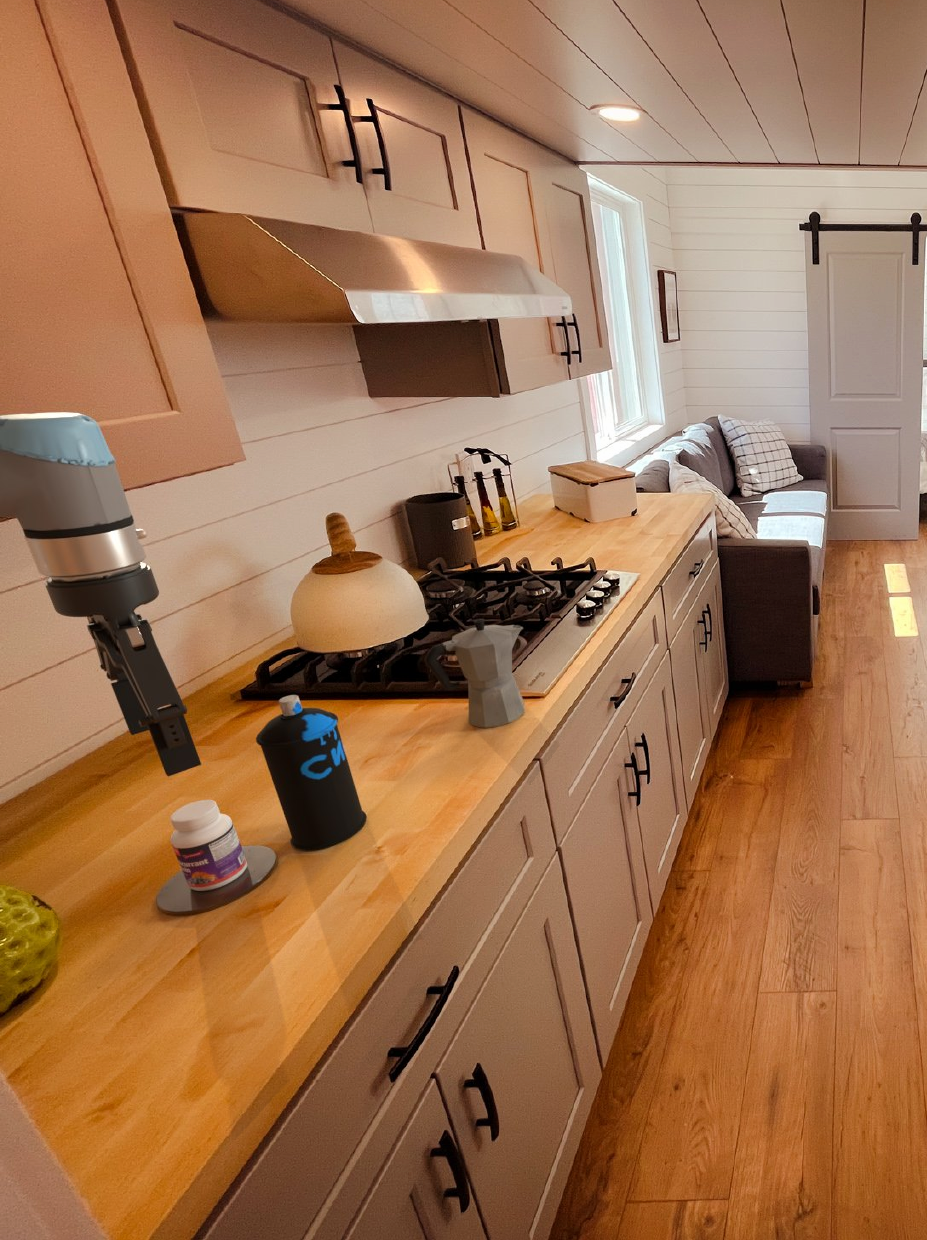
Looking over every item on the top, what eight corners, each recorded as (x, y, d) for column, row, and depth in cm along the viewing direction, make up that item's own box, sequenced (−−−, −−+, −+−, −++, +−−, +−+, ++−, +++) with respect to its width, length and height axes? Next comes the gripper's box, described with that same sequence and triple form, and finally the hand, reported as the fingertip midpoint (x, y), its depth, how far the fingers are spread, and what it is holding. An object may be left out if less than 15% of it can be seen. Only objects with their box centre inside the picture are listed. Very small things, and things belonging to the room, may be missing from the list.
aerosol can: (275, 852, 90) (226, 716, 83) (320, 810, 98) (279, 682, 91) (340, 851, 91) (298, 715, 84) (380, 809, 98) (344, 682, 91)
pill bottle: (176, 890, 83) (148, 822, 80) (221, 858, 88) (197, 793, 85) (216, 895, 83) (189, 827, 79) (260, 862, 88) (236, 797, 84)
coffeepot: (523, 691, 130) (507, 601, 124) (547, 709, 124) (531, 615, 118) (432, 724, 119) (408, 627, 113) (453, 745, 113) (430, 644, 107)
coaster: (134, 924, 79) (132, 920, 79) (192, 857, 89) (190, 853, 89) (250, 904, 82) (248, 900, 82) (294, 842, 92) (292, 838, 92)
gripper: (185, 585, 68) (247, 771, 75) (116, 539, 81) (174, 702, 88) (72, 608, 62) (151, 807, 69) (18, 555, 75) (89, 727, 82)
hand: (164, 748), depth 79 cm, fingers open, 13 cm apart
